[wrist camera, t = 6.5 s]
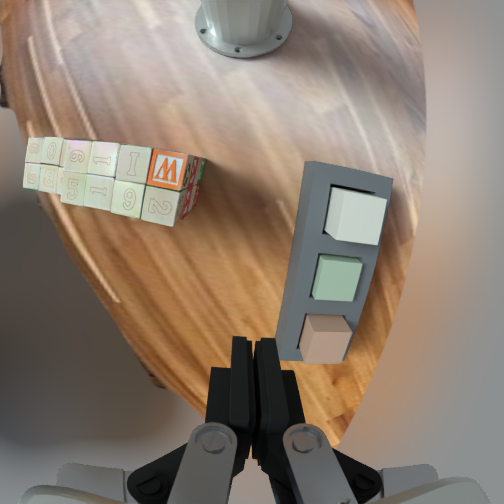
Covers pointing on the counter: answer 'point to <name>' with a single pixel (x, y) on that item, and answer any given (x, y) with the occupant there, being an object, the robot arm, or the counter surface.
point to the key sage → (335, 277)
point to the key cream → (354, 216)
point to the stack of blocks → (115, 177)
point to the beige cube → (324, 338)
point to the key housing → (319, 241)
